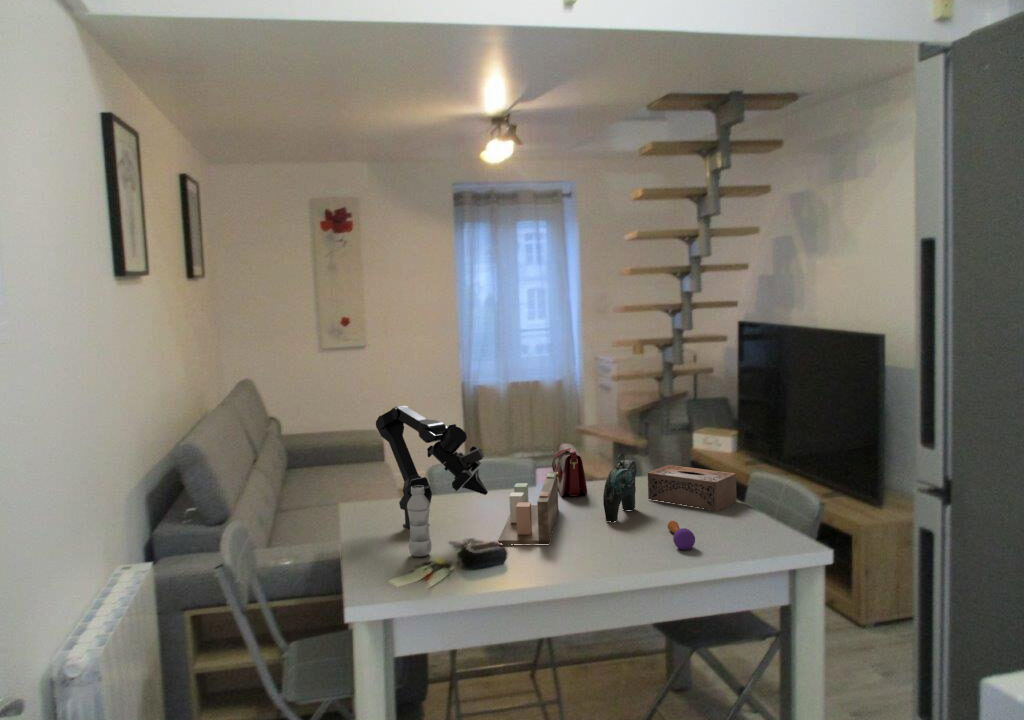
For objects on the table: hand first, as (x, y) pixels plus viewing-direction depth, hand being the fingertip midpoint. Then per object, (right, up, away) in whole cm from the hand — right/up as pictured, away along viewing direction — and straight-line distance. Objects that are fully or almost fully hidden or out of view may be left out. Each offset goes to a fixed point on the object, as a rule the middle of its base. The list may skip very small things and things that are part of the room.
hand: (486, 493), depth 242 cm
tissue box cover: (+69, -8, +32) cm, 77 cm away
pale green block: (+11, -9, +23) cm, 27 cm away
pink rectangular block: (+11, -11, -2) cm, 16 cm away
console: (+13, -12, +10) cm, 21 cm away
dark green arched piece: (+44, -10, +18) cm, 48 cm away
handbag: (+29, -8, +55) cm, 62 cm away
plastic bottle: (-18, -16, -14) cm, 28 cm away
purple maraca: (+56, -13, -10) cm, 59 cm away
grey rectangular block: (+9, -10, +11) cm, 18 cm away
